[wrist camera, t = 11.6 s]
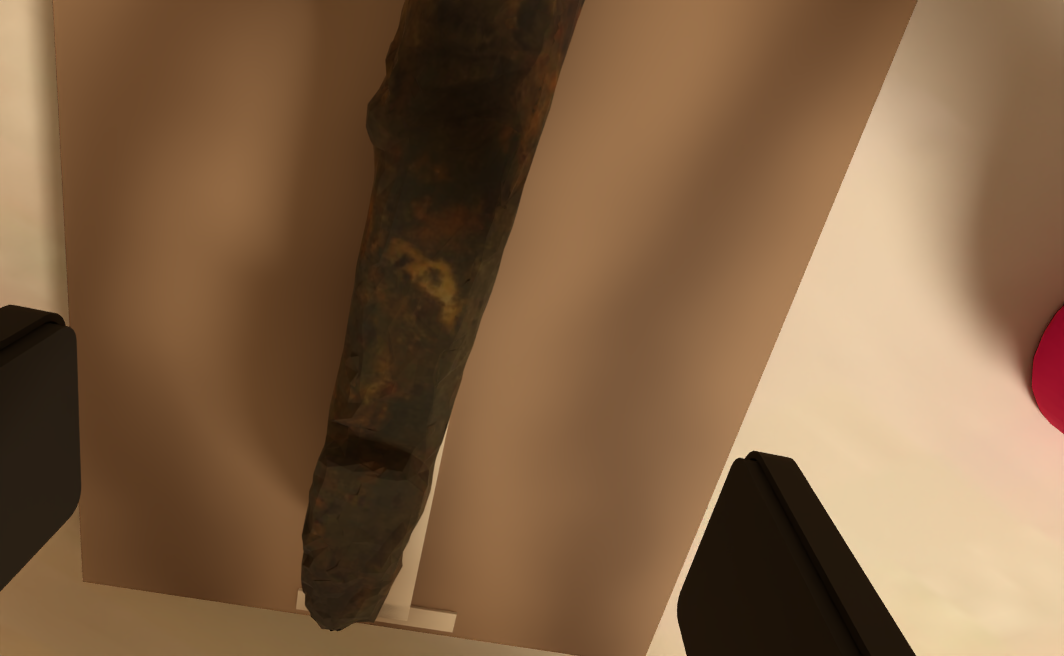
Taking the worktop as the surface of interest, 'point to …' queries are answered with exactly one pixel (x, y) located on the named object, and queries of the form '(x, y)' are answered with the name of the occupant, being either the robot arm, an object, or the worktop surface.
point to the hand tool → (424, 274)
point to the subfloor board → (507, 323)
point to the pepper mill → (1051, 372)
